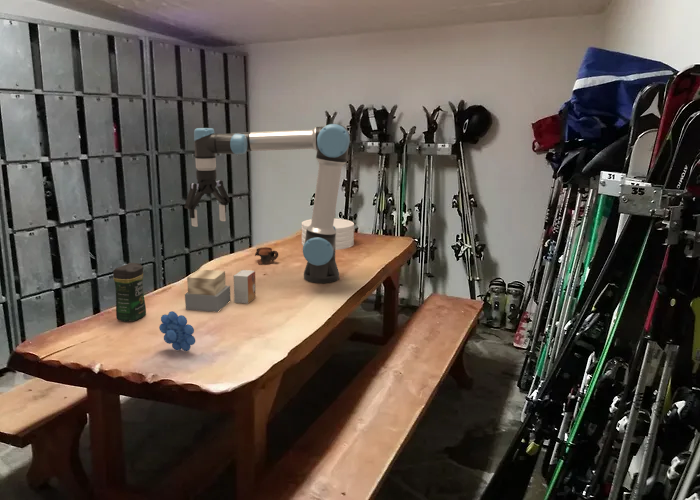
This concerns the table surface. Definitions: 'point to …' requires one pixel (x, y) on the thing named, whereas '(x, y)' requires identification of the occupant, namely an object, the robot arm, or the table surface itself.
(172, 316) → the grapes
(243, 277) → the small box
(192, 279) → the block top
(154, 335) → the table surface
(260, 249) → the pottery mug
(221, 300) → the block base
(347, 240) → the plate stack
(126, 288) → the coffee jar
